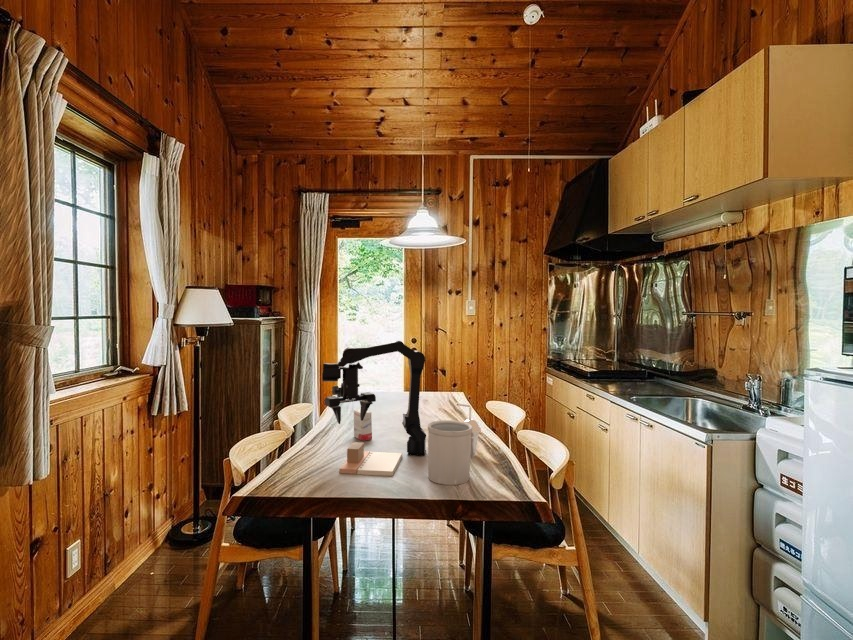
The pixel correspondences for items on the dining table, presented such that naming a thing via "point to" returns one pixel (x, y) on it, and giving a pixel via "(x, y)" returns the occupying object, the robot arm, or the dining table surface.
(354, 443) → the stub
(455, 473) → the utensil holder
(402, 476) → the dining table surface
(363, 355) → the robot arm
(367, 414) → the ink box
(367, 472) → the board
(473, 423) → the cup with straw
